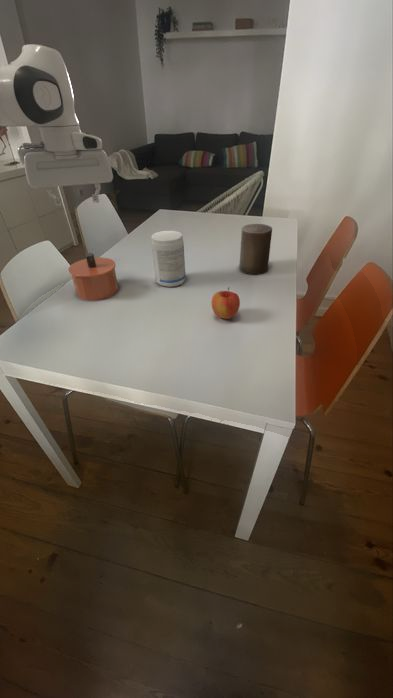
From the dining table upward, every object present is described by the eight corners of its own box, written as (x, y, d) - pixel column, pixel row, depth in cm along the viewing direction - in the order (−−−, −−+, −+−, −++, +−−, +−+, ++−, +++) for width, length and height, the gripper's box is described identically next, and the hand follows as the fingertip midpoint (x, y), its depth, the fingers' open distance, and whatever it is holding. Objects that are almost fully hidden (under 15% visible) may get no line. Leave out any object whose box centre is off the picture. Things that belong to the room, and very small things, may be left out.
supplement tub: (191, 281, 102) (190, 235, 93) (169, 291, 97) (165, 243, 88) (172, 272, 108) (169, 228, 99) (149, 281, 103) (144, 235, 94)
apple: (207, 320, 84) (207, 293, 79) (217, 307, 89) (217, 281, 84) (233, 326, 81) (235, 299, 76) (242, 312, 86) (244, 286, 81)
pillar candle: (271, 273, 105) (277, 227, 96) (243, 276, 104) (246, 229, 95) (262, 262, 113) (267, 218, 104) (235, 264, 112) (238, 220, 103)
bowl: (77, 303, 92) (71, 279, 87) (76, 285, 101) (70, 263, 97) (120, 296, 95) (116, 272, 90) (115, 279, 104) (111, 257, 100)
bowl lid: (69, 282, 87) (65, 267, 84) (69, 264, 97) (64, 249, 95) (118, 275, 91) (116, 259, 88) (113, 258, 101) (110, 243, 98)
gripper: (13, 144, 69) (34, 211, 78) (107, 139, 74) (118, 202, 83) (16, 142, 74) (35, 205, 83) (105, 137, 79) (115, 197, 88)
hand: (77, 204), depth 83 cm, fingers open, 8 cm apart
